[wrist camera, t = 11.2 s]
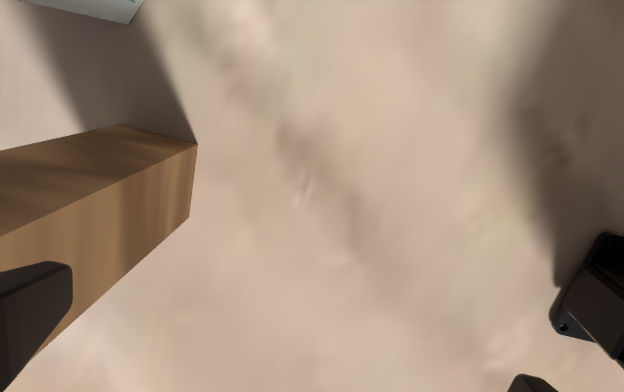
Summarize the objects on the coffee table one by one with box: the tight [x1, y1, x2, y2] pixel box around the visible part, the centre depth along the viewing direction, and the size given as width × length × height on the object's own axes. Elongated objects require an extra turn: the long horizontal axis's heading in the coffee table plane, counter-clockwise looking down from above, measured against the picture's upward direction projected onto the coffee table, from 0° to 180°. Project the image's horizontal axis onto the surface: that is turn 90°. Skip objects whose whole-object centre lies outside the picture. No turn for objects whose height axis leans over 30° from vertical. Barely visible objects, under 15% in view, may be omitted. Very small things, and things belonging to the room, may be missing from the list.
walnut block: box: [0, 125, 198, 360], centre depth 14 cm, size 4×4×14 cm
